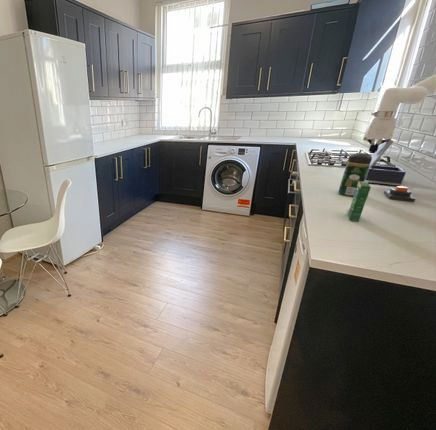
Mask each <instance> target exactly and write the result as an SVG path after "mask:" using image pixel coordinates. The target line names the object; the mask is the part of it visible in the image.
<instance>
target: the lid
mask: <svg viewBox="0 0 436 430" xmlns="http://www.w3.org/2000/svg"><path fill="white" fill-rule="evenodd" d="M394 143H395V140H393V139H391V140H390V139H389V141H388V142H384V143H382V144H380V145H379V147H378V149H377V152H375V153H372V155H370V156H371V157H372V160H371V163H370V166H369V168H371V167H372V166H373V165H376V163H377V162H378V161H379V160H380V158H381V157H382V156H383V155H384V154H385V153H386V152H387V150H388V149H389V148H390V147H391V146H392V144H394Z"/></svg>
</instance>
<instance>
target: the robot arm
mask: <svg viewBox="0 0 436 430" xmlns="http://www.w3.org/2000/svg"><path fill="white" fill-rule="evenodd" d="M434 93H436V73H435V74H433V75H431V76H429V77H427V78H425V79H423V80H421V81H419V82H417V83H415V84H412V85H411V86H409V87H402V86H396V87H395V86H393V87H386V88H383V90H382V92H381V95H380V99H379V101H378V105H377V107H376V110H375V111H373V112H371V114H370V116H373V117H372V118H371V119H370V121H369V123H368V125H367V128H366V129H365V132H364V136H363V138H362V141H364V142H368V144H370V145H369V148H368V152H369V154H373V153H375V152H377V149H378V148H379V146H380V145H381V144H382V143H384V142H388V141H389V139H390V140H392V138H393V136H394V133H395V130H396V125H397V120H398V119H397V118H396V115H397V114H398V113H397V112H398V111H399V107H400V104H406V105H416V104H420V103H422V102H423V101H425V100H426V99H427V97H428V96H429V95H432V94H434ZM376 140H377V141H376ZM375 141H376V143H375Z"/></svg>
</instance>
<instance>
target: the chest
mask: <svg viewBox="0 0 436 430" xmlns="http://www.w3.org/2000/svg"><path fill="white" fill-rule="evenodd" d="M406 173H407V172H406V171H405V170H404V169H402V168H401V167H399V166H390V165H389V166H388V165H387V166H386V165H378V164H377V165H376V164H374V165H373V166H372V167H371V168H369V169H368V172H367V175H366V178H365V181H364V182H366V181H367V182H368V184H369V185H374V186H382V187H383V186H384V187H390V188H391V187H392V188H396V187H397V186H402V183H403V182H404V181H403V180H404V178H405V176H406Z"/></svg>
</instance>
